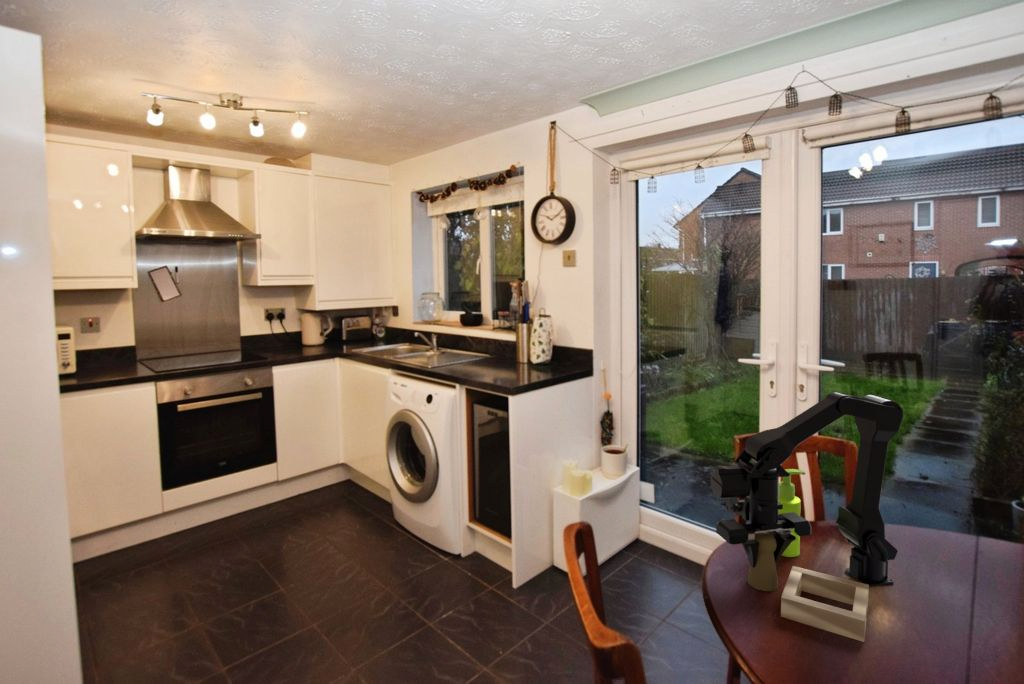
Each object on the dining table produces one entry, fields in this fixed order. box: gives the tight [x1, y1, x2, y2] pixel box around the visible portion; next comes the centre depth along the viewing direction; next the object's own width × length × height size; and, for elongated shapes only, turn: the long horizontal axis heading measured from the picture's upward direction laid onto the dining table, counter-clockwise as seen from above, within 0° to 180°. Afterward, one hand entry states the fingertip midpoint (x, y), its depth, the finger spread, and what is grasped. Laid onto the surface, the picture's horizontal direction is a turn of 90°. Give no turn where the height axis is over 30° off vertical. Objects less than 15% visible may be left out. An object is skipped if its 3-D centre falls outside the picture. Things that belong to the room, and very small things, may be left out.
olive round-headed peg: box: [747, 532, 779, 592], centre depth 114 cm, size 6×6×11 cm
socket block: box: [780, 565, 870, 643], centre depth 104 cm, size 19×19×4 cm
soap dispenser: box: [778, 468, 806, 558], centre depth 126 cm, size 6×7×20 cm
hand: (762, 565), depth 114 cm, fingers closed on olive round-headed peg, 4 cm apart
